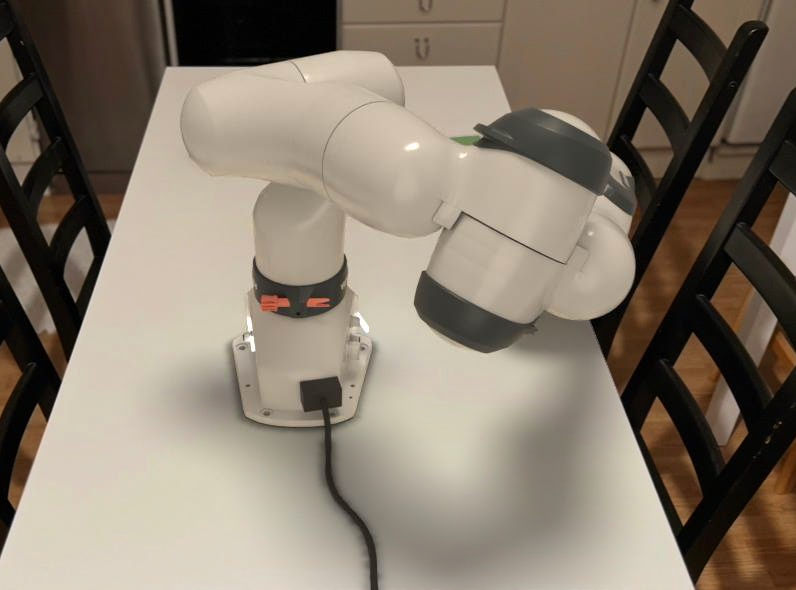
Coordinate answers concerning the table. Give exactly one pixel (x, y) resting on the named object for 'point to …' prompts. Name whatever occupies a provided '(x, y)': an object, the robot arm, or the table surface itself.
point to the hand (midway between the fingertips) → (490, 191)
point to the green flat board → (466, 140)
